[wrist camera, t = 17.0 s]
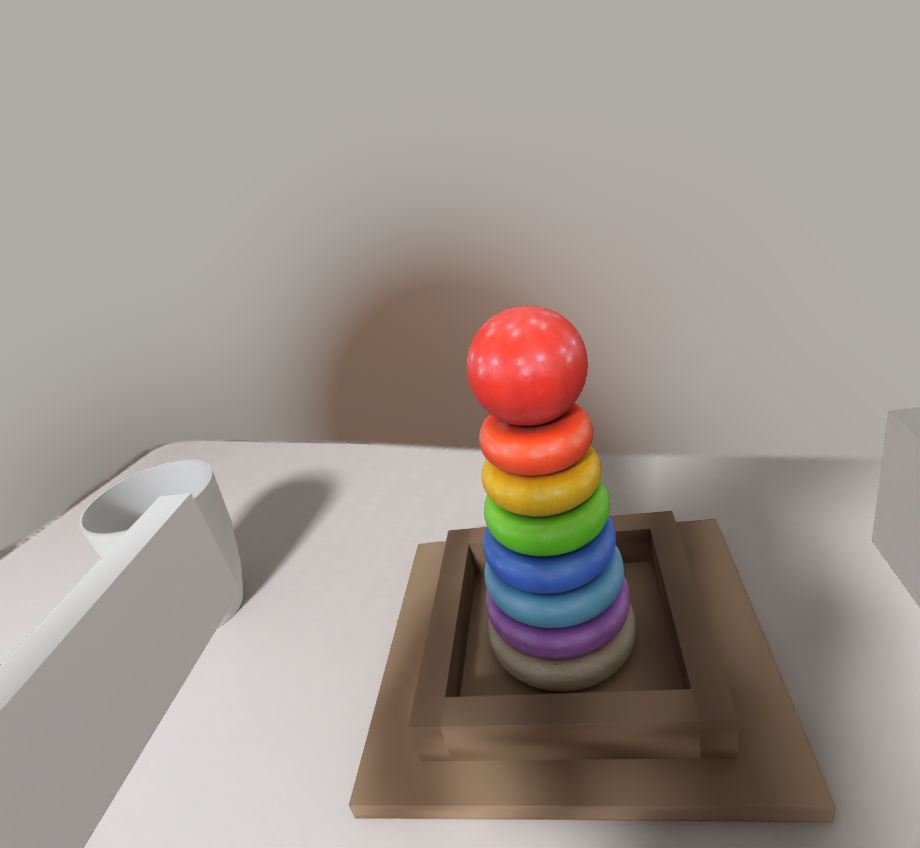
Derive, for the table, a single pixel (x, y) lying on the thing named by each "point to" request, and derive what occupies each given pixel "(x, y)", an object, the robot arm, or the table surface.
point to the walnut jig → (590, 702)
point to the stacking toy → (546, 508)
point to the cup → (142, 489)
